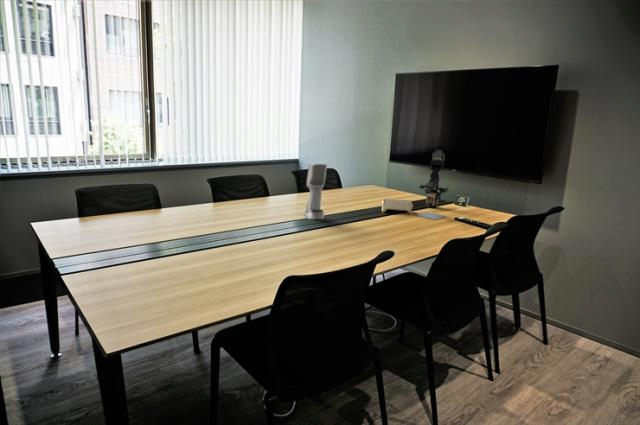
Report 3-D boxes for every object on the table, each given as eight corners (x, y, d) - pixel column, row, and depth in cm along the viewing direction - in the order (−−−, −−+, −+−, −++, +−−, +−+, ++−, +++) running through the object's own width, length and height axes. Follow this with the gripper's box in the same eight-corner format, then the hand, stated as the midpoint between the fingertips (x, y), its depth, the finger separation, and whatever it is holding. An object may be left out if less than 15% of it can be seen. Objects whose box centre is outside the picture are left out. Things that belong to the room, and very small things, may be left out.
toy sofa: (410, 211, 298) (412, 197, 295) (412, 214, 289) (413, 200, 287) (380, 209, 299) (382, 195, 296) (381, 212, 290) (383, 198, 288)
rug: (427, 212, 298) (427, 211, 298) (445, 216, 289) (446, 215, 289) (416, 215, 286) (416, 215, 286) (434, 220, 277) (435, 219, 277)
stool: (429, 202, 291) (431, 192, 289) (437, 204, 287) (439, 194, 285) (425, 203, 287) (426, 193, 285) (433, 205, 283) (435, 195, 281)
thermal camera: (308, 220, 262) (310, 164, 253) (302, 214, 274) (305, 161, 265) (325, 219, 266) (329, 164, 257) (320, 214, 277) (322, 161, 269)
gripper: (416, 176, 283) (414, 199, 286) (442, 181, 271) (439, 204, 275) (424, 175, 291) (422, 197, 295) (450, 179, 279) (447, 202, 283)
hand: (432, 200), depth 286 cm, fingers closed on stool, 6 cm apart
